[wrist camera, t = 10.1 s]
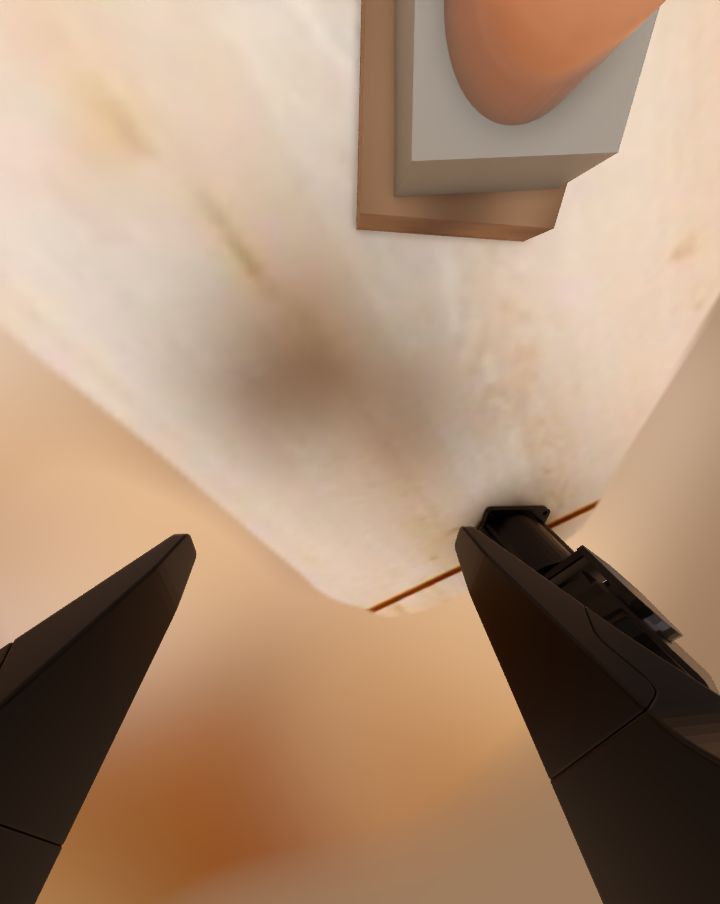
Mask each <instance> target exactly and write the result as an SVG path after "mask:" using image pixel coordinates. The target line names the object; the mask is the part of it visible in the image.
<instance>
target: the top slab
mask: <svg viewBox="0 0 720 904" xmlns="http://www.w3.org/2000/svg"><path fill="white" fill-rule="evenodd" d="M658 11H659V8H658V9H657V10H656V11H654V12H653V13H652V14H651V15H650V16H649V17H648V18H647V19H646V20H645V21H644V22H643V23H642V24H641V25H640V26H639V27H638V28H637V29H636V30H635V31H634V32H633V33H632V34H631V35H630V36H629V37H628V38H627V39H626V40H625V41H624V42H622V43H621V44H620V45H619V46H618V47H617V48H616V49H615V50H614V51H613V52H612V53H611V54H610V55H609V56H608V57H607V58H606V59H605V60H604V61H603V62H602V63H601V64H600V65H599V66H598V67H597V68H596V69H595V70H594V71H593V72H592V73H590V74H589V75H588V76H587V77H586V78H585V79H584V80H583V81H582V82H581V83H580V84H579V85H578V86H577V87H576V88H575V89H574V90H573V91H572V92H571V93H570V94H569V95H568V96H567V97H566V98H565V99H564V100H563V101H562V102H561V103H560V104H558V105H557V106H556V107H555V108H553V109H552V110H551V111H550V112H548V113H547V114H545V115H543V116H542V117H540V118H538V119H536V120H534V121H531V122H529V123H525V124H521V125H503V124H498V123H496V122H493V121H491V120H489V119H487V118H486V117H484V116H483V115H481V114H480V113H479V112H478V111H477V110H476V109H475V108H474V107H473V106H472V105H471V103H470V102H469V101H468V99H467V98H466V97H465V95H464V93H463V91H462V90H461V88H460V86H459V84H458V81H457V79H456V76H455V74H454V71H453V68H452V64H451V61H450V57H449V52H448V47H447V41H446V34H445V23H444V0H394V197H404V196H424V195H444V194H465V193H485V192H505V191H525V190H545V189H558V188H559V187H561V186H563V185H564V184H566V183H568V182H569V181H571V180H573V179H574V178H576V177H578V176H579V175H581V174H583V173H584V172H586V171H588V170H589V169H591V168H593V167H594V166H596V165H598V164H599V163H601V162H603V161H604V160H606V159H608V158H609V157H611V156H613V155H614V154H616V153H618V151H619V147H620V144H621V140H622V137H623V133H624V130H625V126H626V123H627V119H628V116H629V112H630V109H631V105H632V102H633V98H634V95H635V91H636V88H637V84H638V81H639V77H640V74H641V70H642V67H643V63H644V60H645V56H646V53H647V49H648V46H649V42H650V39H651V35H652V32H653V28H654V25H655V21H656V18H657V14H658Z"/></svg>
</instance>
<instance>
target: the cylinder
mask: <svg viewBox="0 0 720 904" xmlns="http://www.w3.org/2000/svg"><path fill="white" fill-rule="evenodd" d="M665 1H666V0H444V23H445V34H446V41H447V47H448V52H449V57H450V61H451V64H452V68H453V71H454V74H455V76H456V79H457V81H458V84H459V86H460V88H461V90H462V91H463V93H464V95H465V97H466V98H467V99H468V101H469V102H470V103H471V105H472V106H473V107H474V108H475V109H476V110H477V111H478V112H479V113H480V114H481V115H483V116H484V117H486V118H487V119H489V120H491V121H493V122H496V123H498V124H503V125H521V124H525V123H529V122H531V121H534V120H536V119H538V118H540V117H542V116H543V115H545V114H547V113H548V112H550V111H551V110H552V109H553V108H555V107H556V106H557V105H558V104H560V103H561V102H562V101H563V100H564V99H565V98H566V97H567V96H568V95H569V94H570V93H571V92H572V91H573V90H574V89H575V88H576V87H577V86H578V85H579V84H580V83H581V82H582V81H583V80H584V79H585V78H586V77H587V76H588V75H589V74H590V73H592V72H593V71H594V70H595V69H596V68H597V67H598V66H599V65H600V64H601V63H602V62H603V61H604V60H605V59H606V58H607V57H608V56H609V55H610V54H611V53H612V52H613V51H614V50H615V49H616V48H617V47H618V46H619V45H620V44H621V43H622V42H624V41H625V40H626V39H627V38H628V37H629V36H630V35H631V34H632V33H633V32H634V31H635V30H636V29H637V28H638V27H639V26H640V25H641V24H642V23H643V22H644V21H645V20H646V19H647V18H648V17H649V16H650V15H651V14H652V13H653V12H654V11H656V10H657V9H658V8H659V7H660V6H661V5H662V4H663V3H664V2H665Z"/></svg>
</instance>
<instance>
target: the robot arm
mask: <svg viewBox="0 0 720 904" xmlns="http://www.w3.org/2000/svg"><path fill="white" fill-rule="evenodd" d="M549 514H550V510H549V509H548V508H547V507H491V508H488V509H487V510H486V512H485V514H484V517H483V520H482V523H481V526H480V528H479V531H478V530H477V529H476V528H474V527H471V526H466V527H461V528H460V529H459V532H458V535H457V539H456V542H455V550H456V553H457V556H458V559H459V563H460V566H461V569H462V572H463V575H464V578H465V581H466V584H467V587H468V590H469V593H470V596H471V598H472V601H473V603H474V605H475V607H476V610H477V612H478V614H479V617H480V619H481V621H482V623H483V626H484V628H485V630H486V633H487V635H488V637H489V640H490V642H491V645H492V647H493V649H494V651H495V654H496V656H497V658H498V661H499V663H500V665H501V668H502V670H503V672H504V675H505V676H506V679H507V682H508V683H509V686H510V688H511V691H512V693H513V695H514V698H515V700H516V702H517V704H518V707H519V709H520V712H521V714H522V716H523V719H524V721H525V723H526V726H527V728H528V730H529V732H530V735H531V737H532V739H533V742H534V744H535V746H536V749H537V751H538V753H539V755H540V758H541V760H542V762H543V765H544V767H545V769H546V772H547V774H548V776H549V778H550V779H551V784H552V786H553V789H554V791H555V793H556V795H557V798H558V800H559V802H560V804H561V807H562V809H563V812H564V814H565V816H566V818H567V821H568V823H569V826H570V828H571V830H572V833H573V835H574V837H575V839H576V842H577V844H578V846H579V849H580V851H581V853H582V856H583V858H584V860H585V863H586V865H587V867H588V869H589V872H590V874H591V876H592V879H593V881H594V883H595V886H596V888H597V890H598V893H599V895H600V897H601V900H602V902H603V904H720V694H719V692H718V690H717V688H716V686H715V684H714V681H713V680H712V678H711V676H710V675H709V674H708V673H707V672H706V671H705V670H704V669H703V668H702V667H701V666H700V665H699V664H698V663H697V662H696V661H695V660H694V659H693V658H692V657H691V656H690V655H689V654H688V653H686V652H685V651H684V650H683V649H682V648H681V647H680V646H679V645H678V644H677V643H676V642H675V641H674V640H676V639H678V638H680V637H682V636H683V635H682V634H681V632H680V631H679V630H678V629H677V628H676V627H675V626H674V625H673V624H672V623H671V622H670V621H669V620H668V619H667V618H666V617H665V616H664V615H663V614H661V612H660V611H659V610H658V609H657V608H656V607H655V606H654V605H653V604H652V603H651V602H650V601H649V600H648V599H647V598H646V597H645V596H644V595H643V594H642V593H641V592H639V590H638V589H636V588H635V587H634V586H633V585H632V584H631V583H630V582H628V581H627V580H626V579H625V578H624V577H623V576H621V575H620V574H619V573H618V572H617V571H616V570H615V569H613V568H612V567H611V566H610V565H609V564H607V563H606V562H605V561H603V560H602V559H601V558H599V557H598V556H597V555H595V554H594V553H593V552H591V551H590V550H589V549H587V548H586V547H584V546H583V545H582V546H580V547H579V548H578V549H577V551H576V552H574V551H573V550H572V549H571V548H569V546H568V545H567V544H566V543H565V542H564V541H563V540H562V539H561V538H559V537H558V536H557V535H556V534H555V533H554V532H553V531H552V530H551V529H550V528H549V527H548V526H547V525H546V524H545V521H546V519H547V518H548V516H549ZM195 559H196V550H195V547H194V544H193V542H192V539H191V536H190V535H189V534H174V535H172V536H171V537H169V538H168V539H166V540H164V541H163V542H161V543H160V544H158V545H157V546H155V547H154V548H152V549H151V550H149V551H148V552H146V553H145V554H143V555H142V556H140V557H139V558H137V559H136V560H134V561H133V562H131V563H130V564H128V565H127V566H125V567H124V568H122V569H121V570H119V571H118V572H116V573H115V574H113V575H112V576H110V577H109V578H107V579H106V580H104V581H103V582H101V583H100V584H98V585H97V586H95V587H94V588H92V589H91V590H89V591H88V592H86V593H85V594H83V595H82V596H80V597H79V598H77V599H76V600H74V601H72V602H71V603H70V604H68V605H66V606H65V607H63V608H62V609H60V610H59V611H57V612H56V613H54V614H53V615H51V616H50V617H48V618H47V619H45V620H44V621H42V622H41V623H40V624H38V625H36V626H35V627H33V628H32V629H30V630H29V631H27V632H26V633H24V634H23V635H21V636H20V637H18V638H17V639H15V641H14V642H13V643H9V644H7V645H6V646H4V647H3V648H1V649H0V904H35V903H36V900H37V898H38V896H39V894H40V892H41V890H42V888H43V886H44V884H45V882H46V879H47V878H48V876H49V874H50V871H51V869H52V867H53V865H54V863H55V861H56V859H57V857H58V855H59V853H60V850H61V849H62V846H61V845H63V843H64V842H65V840H66V838H67V836H68V833H69V832H70V829H71V827H72V825H73V823H74V821H75V819H76V817H77V815H78V813H79V811H80V809H81V807H82V804H83V803H84V800H85V798H86V796H87V794H88V792H89V790H90V788H91V786H92V784H93V782H94V780H95V778H96V776H97V773H98V771H99V769H100V767H101V765H102V763H103V761H104V759H105V757H106V755H107V753H108V751H109V748H110V747H111V745H112V743H113V741H114V738H115V736H116V734H117V732H118V730H119V728H120V726H121V724H122V722H123V720H124V718H125V716H126V714H127V711H128V709H129V707H130V705H131V703H132V701H133V699H134V697H135V695H136V693H137V691H138V689H139V687H140V685H141V682H142V681H143V678H144V676H145V674H146V672H147V670H148V668H149V666H150V664H151V662H152V660H153V658H154V656H155V654H156V651H157V650H158V647H159V645H160V643H161V641H162V639H163V637H164V635H165V633H166V631H167V629H168V627H169V625H170V623H171V621H172V619H173V616H174V614H175V612H176V610H177V607H178V605H179V602H180V600H181V597H182V595H183V592H184V589H185V586H186V584H187V581H188V578H189V575H190V573H191V570H192V567H193V565H194V562H195ZM605 580H607V581H605ZM603 581H605V582H603ZM602 582H603V583H602Z"/></svg>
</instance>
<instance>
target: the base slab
mask: <svg viewBox="0 0 720 904" xmlns="http://www.w3.org/2000/svg"><path fill="white" fill-rule="evenodd" d="M566 186H567V183H566V184H564V185H563V186H561V187H559V188H558V189H545V190H525V191H505V192H485V193H465V194H444V195H424V196H404V197H394V0H362V5H361V50H360V95H359V141H358V186H357V229H359V230H372V231H386V232H400V233H414V234H427V235H441V236H455V237H469V238H482V239H496V240H510V241H525V240H528V239H530V238H532V237H535V236H537V235H539V234H542V233H544V232H546V231H549V230H551V229H553V228H554V226H555V223H556V219H557V216H558V213H559V209H560V206H561V202H562V199H563V196H564V192H565V189H566Z"/></svg>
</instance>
